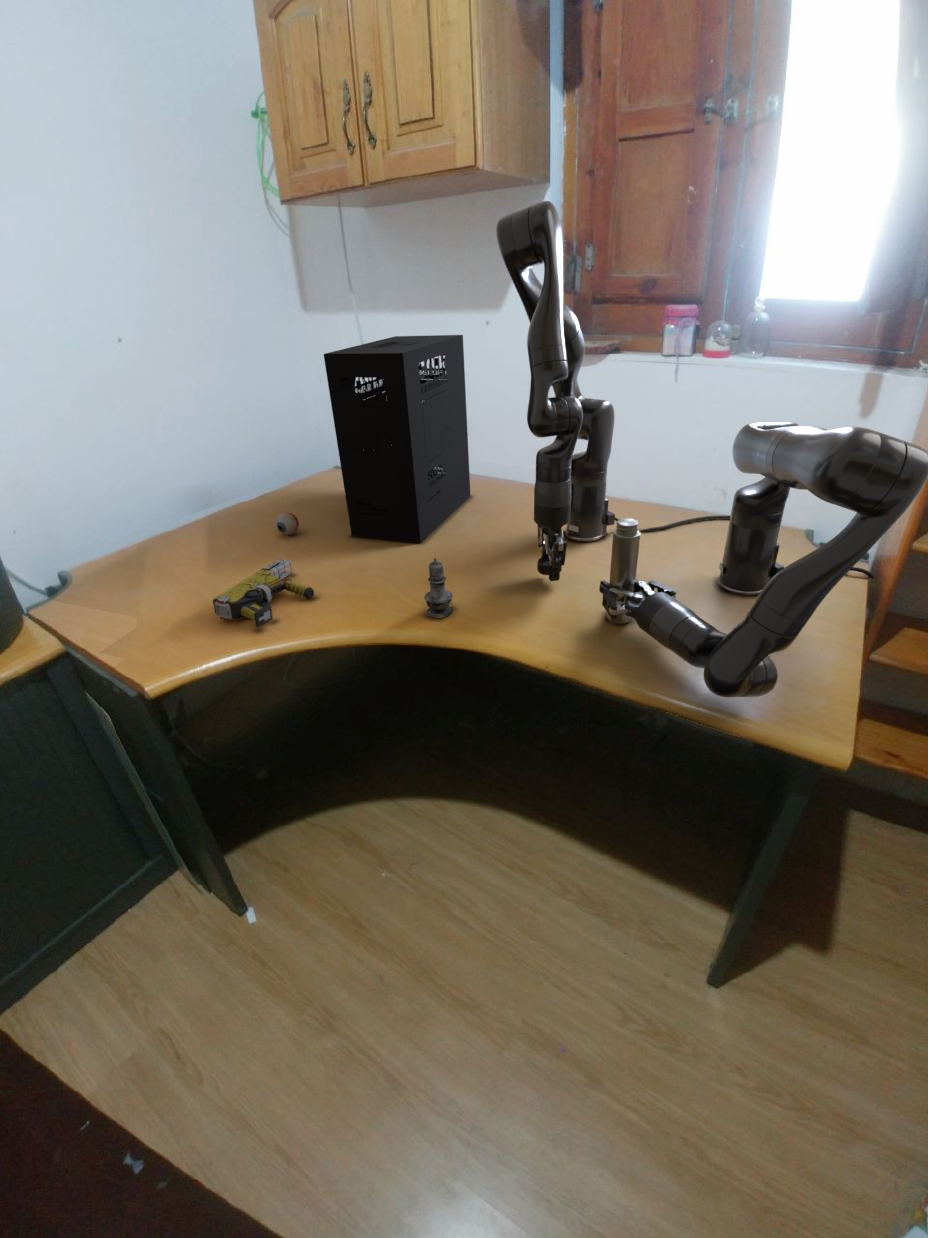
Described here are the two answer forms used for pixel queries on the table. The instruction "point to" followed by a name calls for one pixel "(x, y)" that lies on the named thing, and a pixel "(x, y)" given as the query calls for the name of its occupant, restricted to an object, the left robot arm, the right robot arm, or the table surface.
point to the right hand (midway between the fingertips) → (613, 582)
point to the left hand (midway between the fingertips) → (550, 574)
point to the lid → (544, 565)
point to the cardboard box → (401, 434)
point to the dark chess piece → (438, 592)
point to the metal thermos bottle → (624, 560)
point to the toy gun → (258, 594)
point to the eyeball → (287, 523)
